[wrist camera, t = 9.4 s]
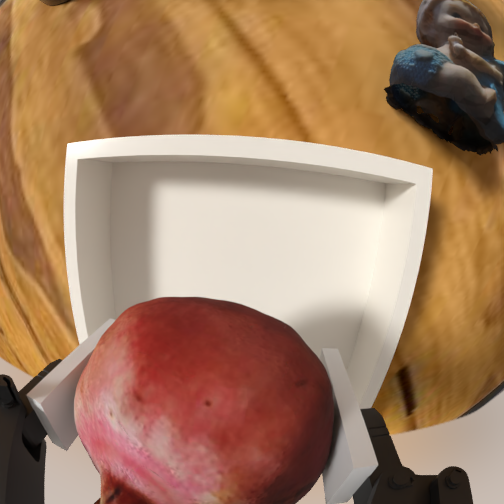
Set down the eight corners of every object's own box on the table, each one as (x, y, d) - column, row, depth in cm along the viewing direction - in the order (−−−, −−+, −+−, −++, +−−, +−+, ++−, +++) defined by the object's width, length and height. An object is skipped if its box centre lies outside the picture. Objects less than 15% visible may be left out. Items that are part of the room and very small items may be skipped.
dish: (123, 379, 21) (100, 412, 17) (110, 150, 17) (67, 143, 12) (339, 407, 21) (349, 448, 16) (394, 172, 16) (432, 168, 11)
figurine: (381, 80, 10) (428, -53, 4) (371, 121, 17) (417, 2, 12) (519, 175, 8) (532, 12, 3) (465, 179, 15) (498, 50, 10)
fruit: (352, 372, 12) (412, 556, 2) (209, 439, 14) (174, 576, 4) (235, 219, 11) (20, 420, 1) (98, 332, 12) (-23, 453, 3)
